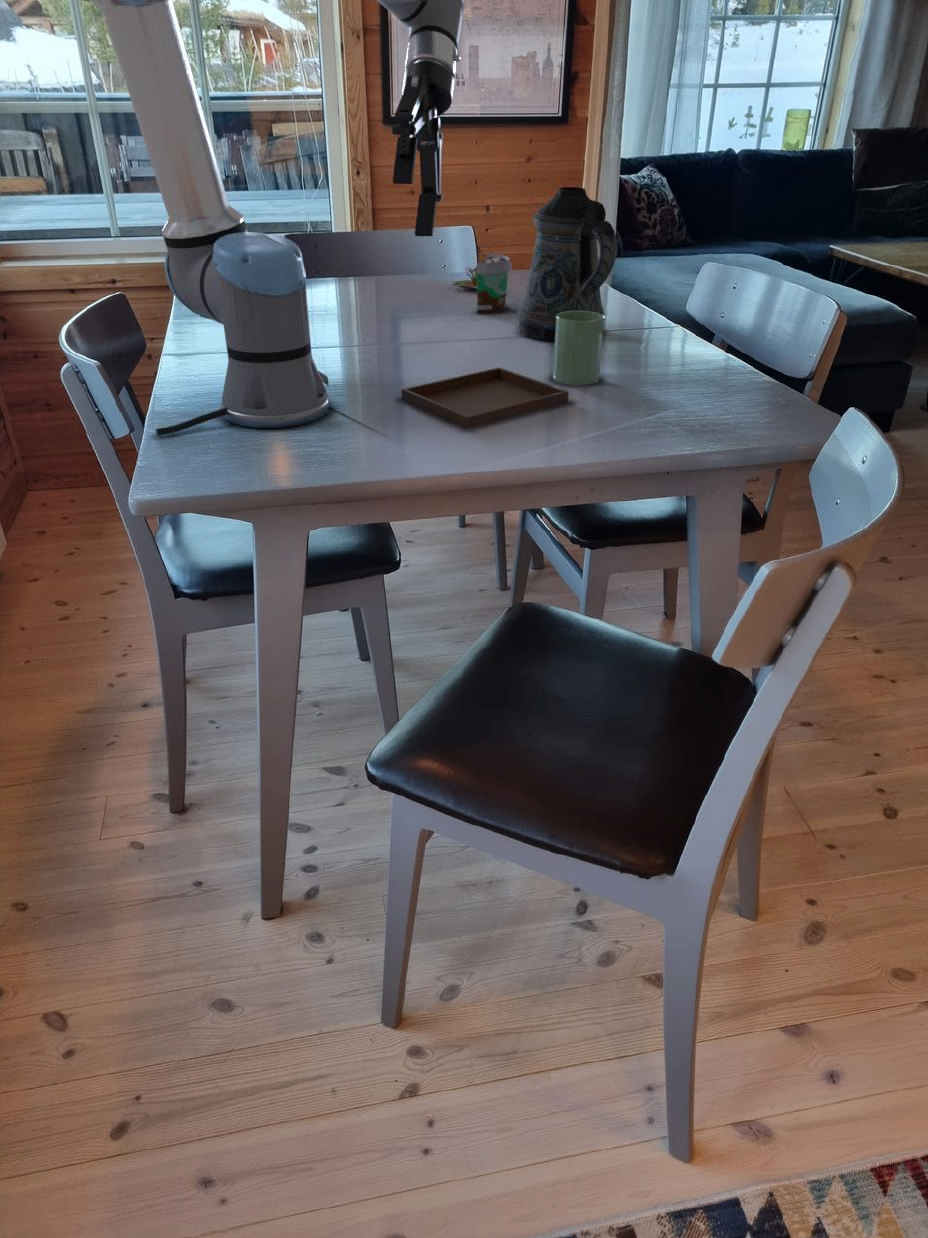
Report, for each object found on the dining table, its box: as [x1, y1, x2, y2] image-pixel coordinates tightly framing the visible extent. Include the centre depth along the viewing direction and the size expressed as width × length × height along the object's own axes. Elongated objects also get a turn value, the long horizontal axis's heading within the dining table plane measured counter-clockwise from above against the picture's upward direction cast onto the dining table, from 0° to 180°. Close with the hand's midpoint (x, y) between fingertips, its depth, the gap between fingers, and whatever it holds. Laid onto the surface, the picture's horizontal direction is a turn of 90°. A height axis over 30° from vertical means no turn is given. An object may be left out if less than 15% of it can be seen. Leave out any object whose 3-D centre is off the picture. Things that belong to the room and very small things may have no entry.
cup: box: [552, 311, 605, 386], centre depth 139 cm, size 7×7×10 cm
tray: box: [400, 367, 569, 429], centre depth 131 cm, size 19×16×2 cm
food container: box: [476, 253, 513, 315], centre depth 182 cm, size 12×6×10 cm, turn 168°
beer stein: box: [517, 186, 618, 343], centre depth 161 cm, size 16×19×25 cm
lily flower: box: [450, 266, 477, 290], centre depth 202 cm, size 12×12×5 cm
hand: (413, 210), depth 129 cm, fingers open, 13 cm apart
